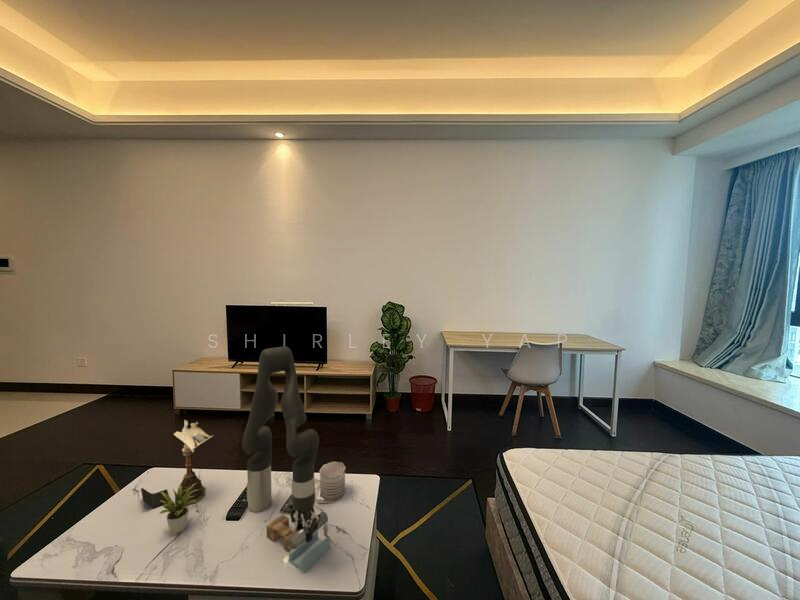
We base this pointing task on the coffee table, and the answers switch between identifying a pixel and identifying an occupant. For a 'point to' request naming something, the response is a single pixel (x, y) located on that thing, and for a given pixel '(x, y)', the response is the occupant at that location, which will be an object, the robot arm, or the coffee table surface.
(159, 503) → the dark v-shaped block
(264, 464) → the robot arm
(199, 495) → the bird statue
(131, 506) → the coffee table surface
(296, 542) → the axle
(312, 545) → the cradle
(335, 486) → the can
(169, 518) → the house plant
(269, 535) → the brown h-shaped block
